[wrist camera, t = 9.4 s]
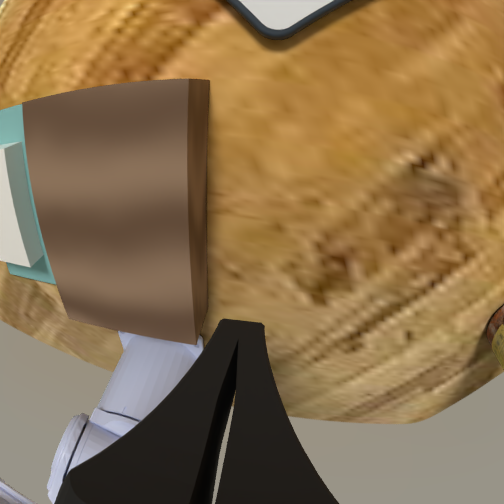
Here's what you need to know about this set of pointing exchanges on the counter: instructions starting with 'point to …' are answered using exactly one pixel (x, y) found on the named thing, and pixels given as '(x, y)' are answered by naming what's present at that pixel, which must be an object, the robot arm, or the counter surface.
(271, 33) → the phone case
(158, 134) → the block
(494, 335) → the sauce bottle
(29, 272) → the mat
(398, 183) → the counter surface
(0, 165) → the tile
